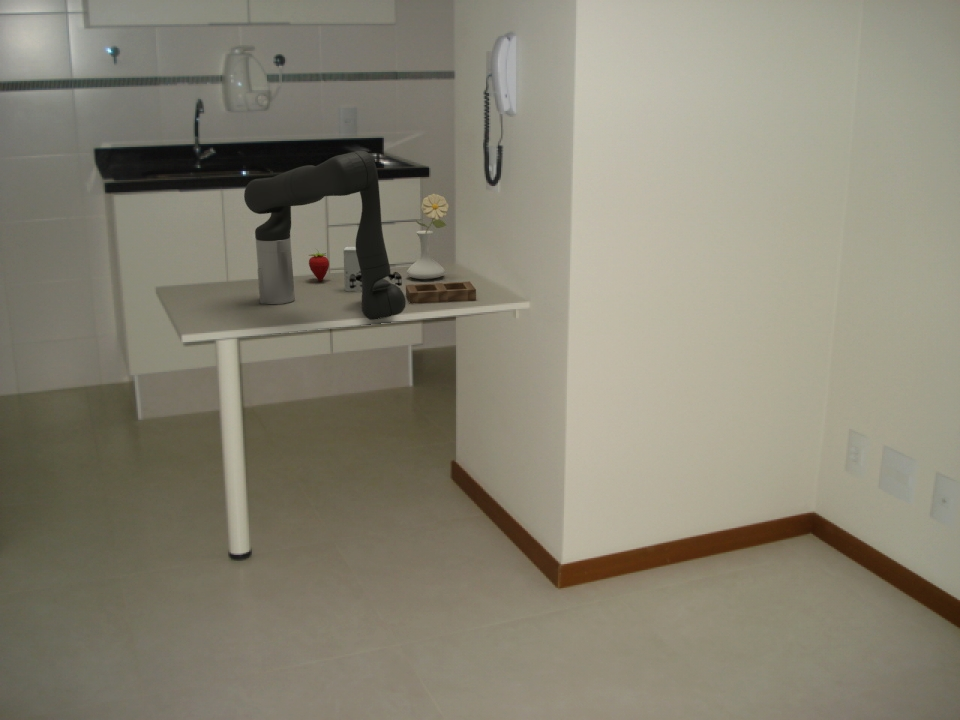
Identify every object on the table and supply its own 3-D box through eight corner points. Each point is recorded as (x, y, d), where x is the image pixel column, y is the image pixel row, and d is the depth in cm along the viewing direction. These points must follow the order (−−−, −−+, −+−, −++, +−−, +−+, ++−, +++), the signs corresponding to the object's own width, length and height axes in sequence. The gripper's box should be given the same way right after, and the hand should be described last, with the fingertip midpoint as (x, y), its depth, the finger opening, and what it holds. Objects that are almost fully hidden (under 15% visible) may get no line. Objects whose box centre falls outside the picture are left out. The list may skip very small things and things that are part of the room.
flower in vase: (403, 281, 294) (400, 196, 287) (410, 273, 305) (407, 191, 298) (447, 282, 293) (445, 196, 286) (452, 274, 304) (450, 191, 297)
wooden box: (409, 303, 269) (409, 293, 268) (406, 295, 278) (405, 284, 277) (476, 300, 272) (475, 289, 271) (470, 291, 281) (469, 281, 280)
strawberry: (313, 284, 292) (311, 250, 290) (307, 279, 299) (305, 246, 296) (333, 282, 295) (331, 249, 292) (326, 277, 301) (324, 244, 298)
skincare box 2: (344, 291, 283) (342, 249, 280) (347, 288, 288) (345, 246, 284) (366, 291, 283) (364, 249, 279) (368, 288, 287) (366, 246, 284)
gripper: (405, 271, 256) (398, 259, 272) (348, 274, 254) (345, 261, 270) (406, 300, 259) (399, 286, 274) (350, 303, 256) (347, 289, 272)
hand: (373, 274), depth 272 cm, fingers closed on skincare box, 6 cm apart
